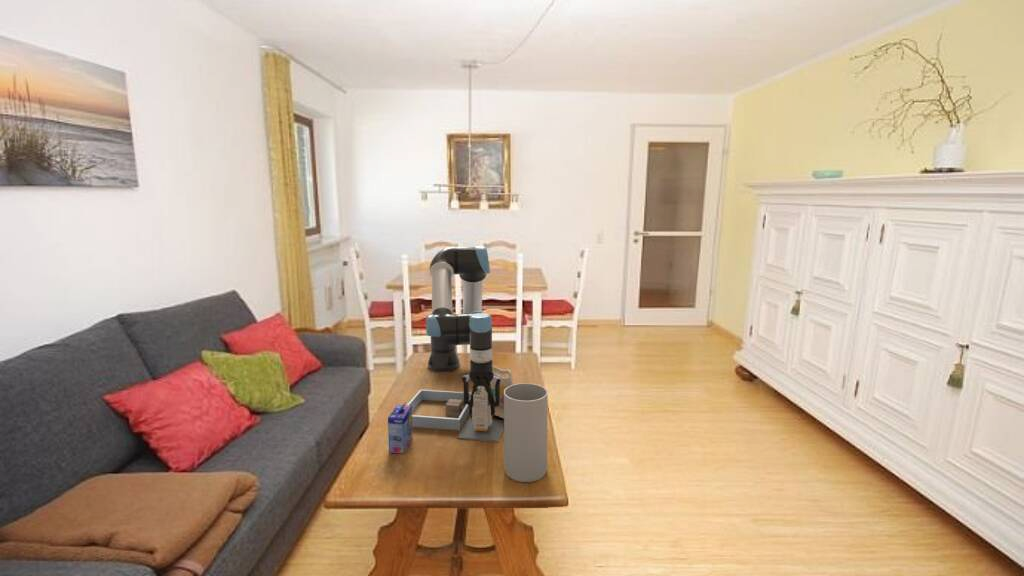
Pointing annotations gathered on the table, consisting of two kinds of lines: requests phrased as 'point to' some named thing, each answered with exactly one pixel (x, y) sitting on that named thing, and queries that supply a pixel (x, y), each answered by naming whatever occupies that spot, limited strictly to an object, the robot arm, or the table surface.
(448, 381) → the table surface
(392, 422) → the ink cartridge box
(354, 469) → the table surface
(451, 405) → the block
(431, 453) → the table surface
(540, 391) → the cylinder vase
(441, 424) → the bin
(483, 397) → the supplement box
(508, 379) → the shape sorter
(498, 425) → the mat
